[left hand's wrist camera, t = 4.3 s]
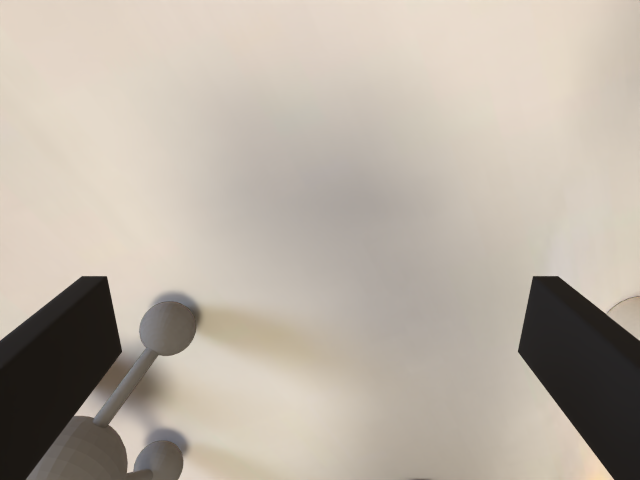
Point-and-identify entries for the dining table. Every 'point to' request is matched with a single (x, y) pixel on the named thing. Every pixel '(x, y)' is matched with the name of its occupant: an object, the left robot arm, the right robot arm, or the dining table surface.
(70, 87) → the dining table surface
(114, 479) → the molecular model
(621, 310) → the bottle
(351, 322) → the dining table surface
